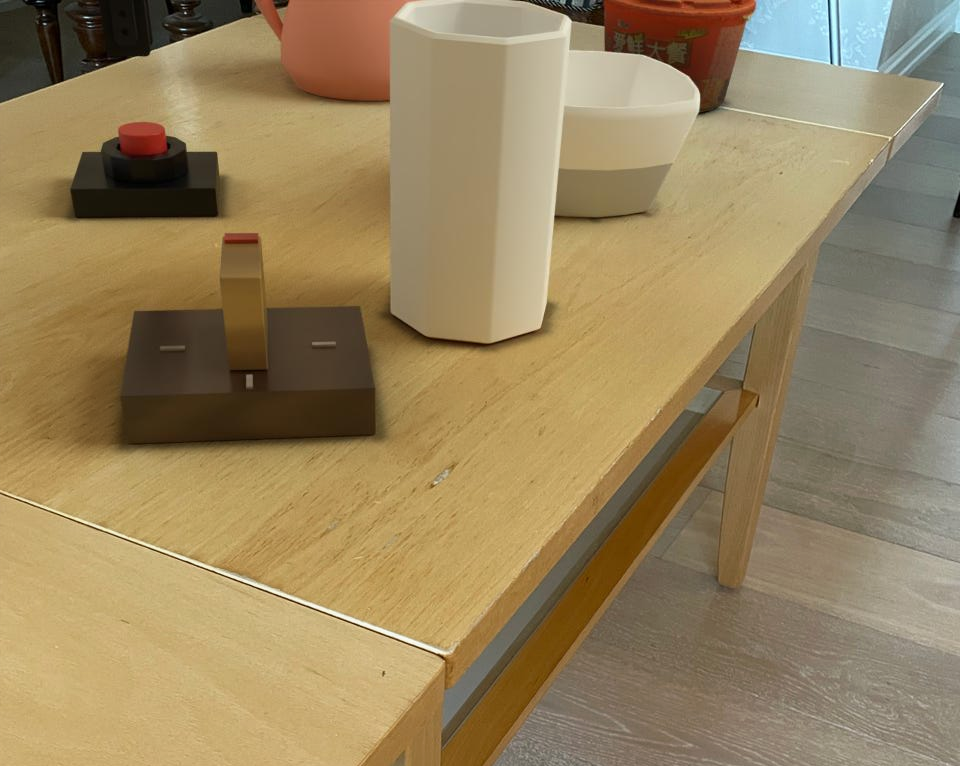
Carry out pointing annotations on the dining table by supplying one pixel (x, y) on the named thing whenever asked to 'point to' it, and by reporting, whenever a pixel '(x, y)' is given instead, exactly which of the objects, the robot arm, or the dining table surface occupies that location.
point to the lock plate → (247, 378)
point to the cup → (474, 164)
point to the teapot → (336, 45)
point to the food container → (682, 37)
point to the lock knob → (244, 301)
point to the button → (142, 138)
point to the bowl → (620, 132)
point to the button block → (146, 182)
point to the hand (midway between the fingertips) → (130, 48)
